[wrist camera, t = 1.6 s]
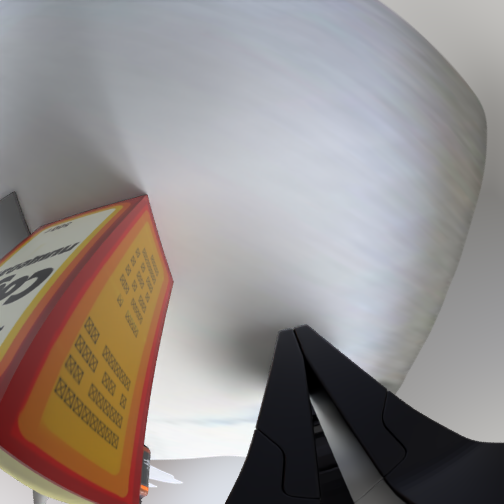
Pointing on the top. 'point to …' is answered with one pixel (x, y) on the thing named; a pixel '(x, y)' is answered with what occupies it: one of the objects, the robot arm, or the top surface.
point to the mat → (11, 224)
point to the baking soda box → (81, 352)
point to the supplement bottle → (144, 474)
